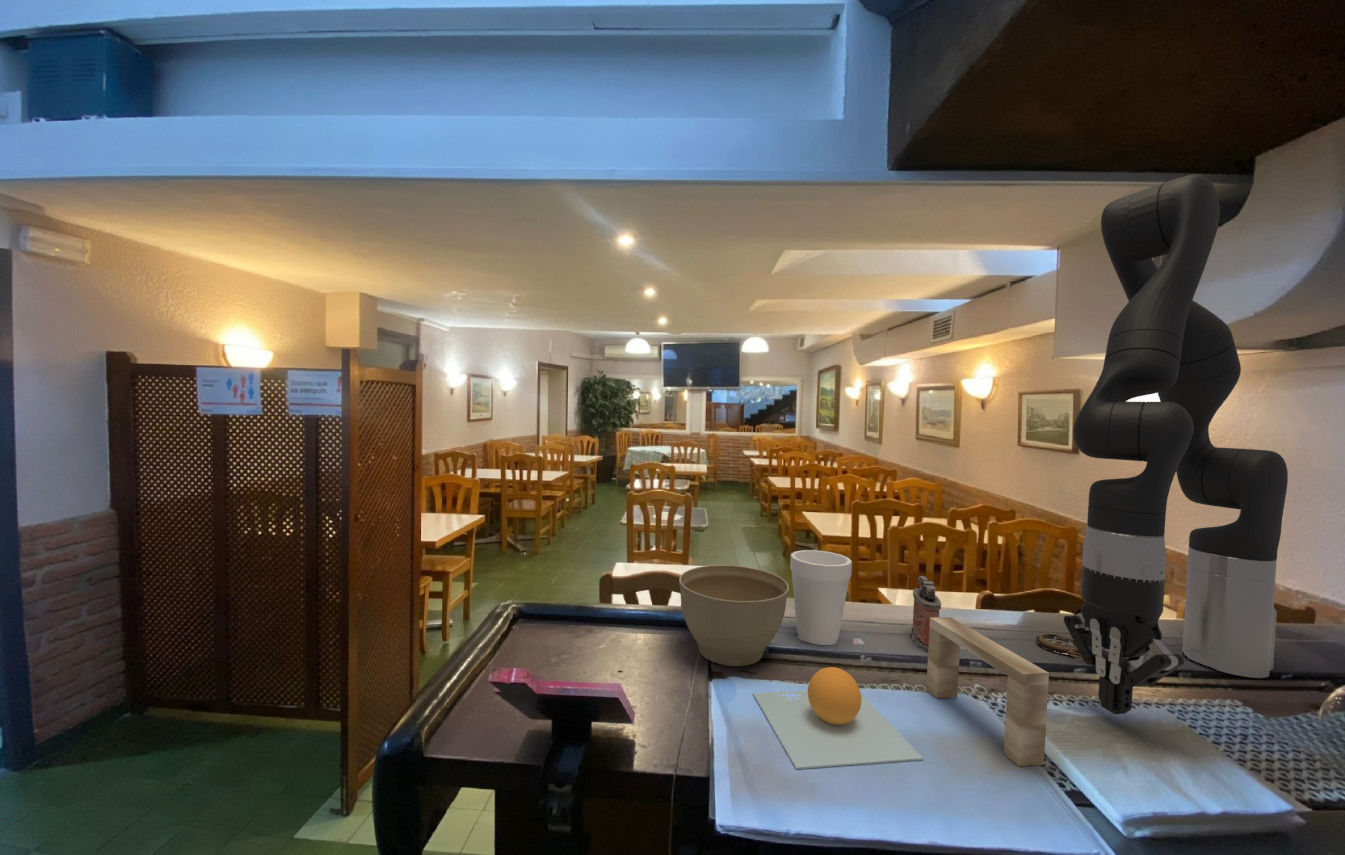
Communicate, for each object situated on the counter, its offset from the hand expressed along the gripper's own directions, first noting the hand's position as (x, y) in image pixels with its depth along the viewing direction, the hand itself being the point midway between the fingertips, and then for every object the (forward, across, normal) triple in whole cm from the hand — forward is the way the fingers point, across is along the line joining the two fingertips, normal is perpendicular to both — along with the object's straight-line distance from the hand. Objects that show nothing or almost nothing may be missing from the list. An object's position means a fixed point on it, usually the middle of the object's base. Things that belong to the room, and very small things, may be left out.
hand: (1113, 710), depth 63 cm
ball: (-2, +4, +34) cm, 35 cm away
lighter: (+2, +23, +9) cm, 25 cm away
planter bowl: (+2, +22, +42) cm, 47 cm away
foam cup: (+2, +26, +26) cm, 37 cm away
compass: (+2, +18, -13) cm, 22 cm away
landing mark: (+2, +3, +35) cm, 35 cm away
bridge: (+2, +2, +17) cm, 17 cm away
